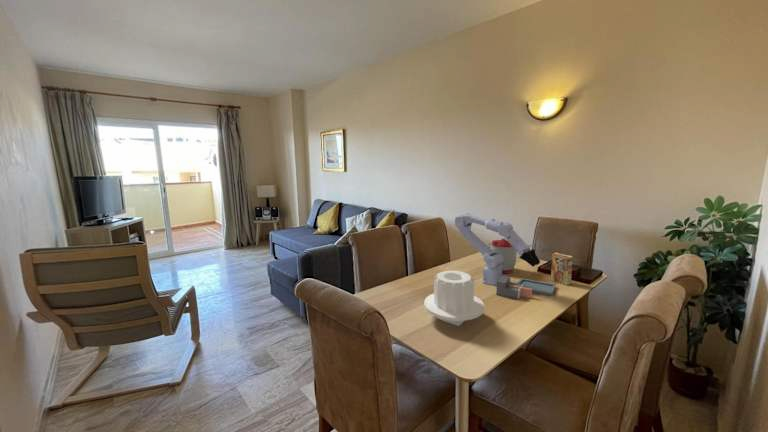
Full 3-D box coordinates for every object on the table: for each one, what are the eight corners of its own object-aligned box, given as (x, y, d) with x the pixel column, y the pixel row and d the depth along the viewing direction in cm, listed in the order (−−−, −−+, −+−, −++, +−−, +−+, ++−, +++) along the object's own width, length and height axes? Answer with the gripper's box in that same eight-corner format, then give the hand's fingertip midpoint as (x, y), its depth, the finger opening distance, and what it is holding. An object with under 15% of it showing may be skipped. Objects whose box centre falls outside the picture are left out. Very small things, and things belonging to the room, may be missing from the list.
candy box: (571, 283, 166) (573, 256, 163) (566, 285, 164) (569, 257, 161) (554, 278, 173) (556, 252, 171) (550, 280, 171) (552, 253, 168)
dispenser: (496, 294, 156) (496, 281, 155) (501, 287, 164) (502, 274, 163) (518, 299, 150) (519, 285, 149) (522, 291, 158) (523, 278, 157)
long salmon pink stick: (507, 293, 157) (507, 285, 156) (508, 292, 158) (508, 284, 157) (531, 298, 151) (531, 289, 150) (531, 297, 152) (532, 288, 151)
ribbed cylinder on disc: (441, 299, 152) (442, 262, 149) (492, 314, 137) (494, 273, 133) (413, 321, 133) (412, 279, 130) (468, 341, 118) (469, 294, 114)
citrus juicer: (490, 263, 200) (491, 233, 196) (519, 268, 190) (520, 236, 186) (482, 271, 188) (482, 239, 184) (512, 277, 178) (513, 243, 174)
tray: (515, 289, 162) (515, 286, 161) (520, 280, 172) (520, 278, 172) (552, 296, 152) (552, 293, 152) (555, 286, 163) (555, 284, 162)
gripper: (519, 238, 150) (540, 261, 144) (527, 237, 162) (546, 258, 156) (508, 247, 153) (528, 270, 148) (516, 245, 165) (535, 266, 159)
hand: (536, 264), depth 152 cm, fingers open, 7 cm apart
